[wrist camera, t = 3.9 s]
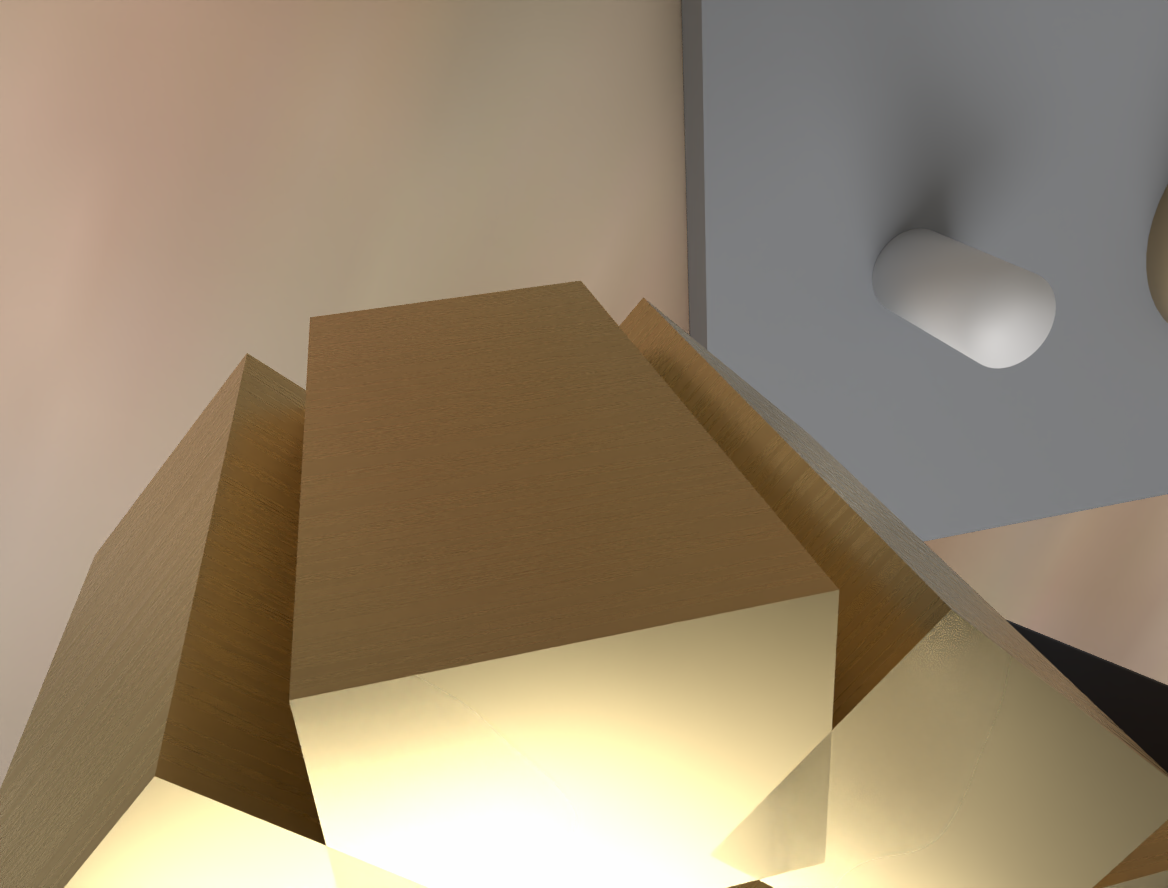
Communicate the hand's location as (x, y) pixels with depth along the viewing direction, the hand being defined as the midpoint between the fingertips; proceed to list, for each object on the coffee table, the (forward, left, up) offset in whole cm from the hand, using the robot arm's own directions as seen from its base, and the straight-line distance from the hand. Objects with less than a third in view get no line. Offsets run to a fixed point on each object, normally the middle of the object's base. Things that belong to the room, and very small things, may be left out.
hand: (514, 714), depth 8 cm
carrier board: (-13, 0, -11) cm, 17 cm away
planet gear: (0, 0, -1) cm, 1 cm away
